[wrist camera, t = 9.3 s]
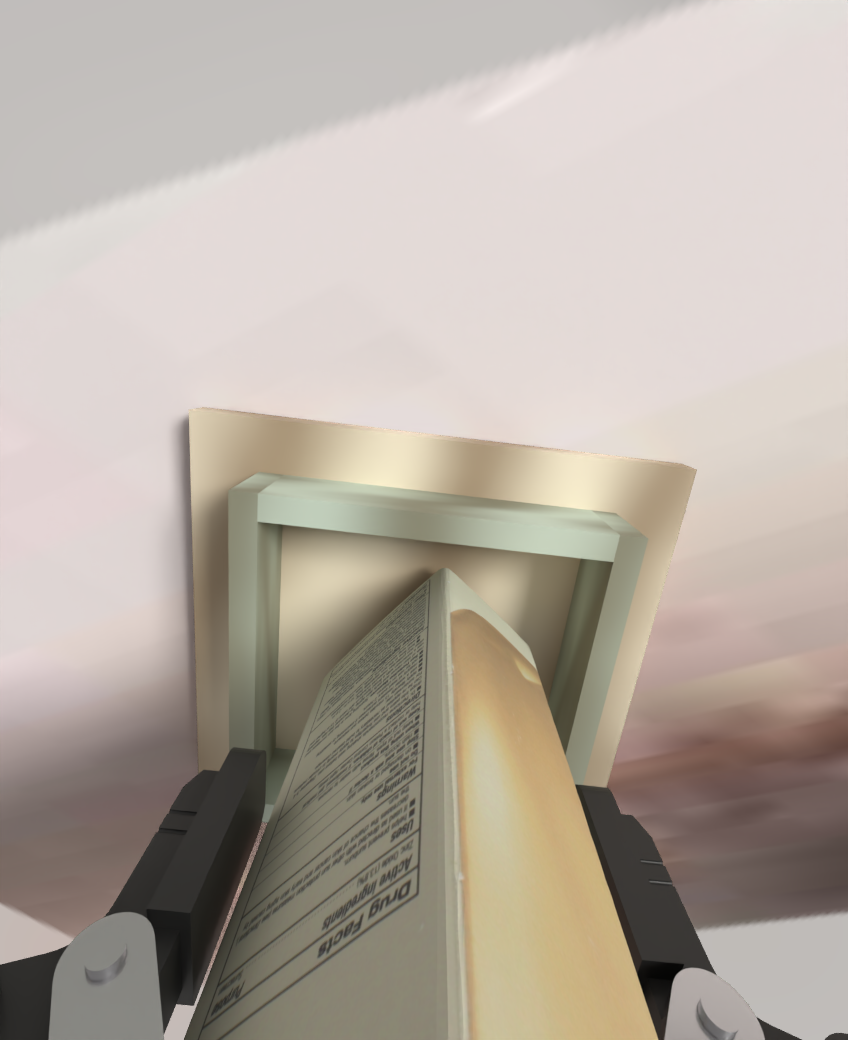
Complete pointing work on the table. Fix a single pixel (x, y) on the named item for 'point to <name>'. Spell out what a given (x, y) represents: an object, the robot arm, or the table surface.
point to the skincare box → (427, 858)
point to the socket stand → (415, 567)
